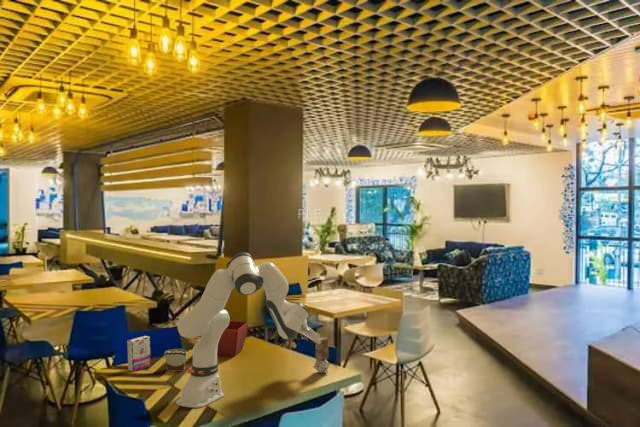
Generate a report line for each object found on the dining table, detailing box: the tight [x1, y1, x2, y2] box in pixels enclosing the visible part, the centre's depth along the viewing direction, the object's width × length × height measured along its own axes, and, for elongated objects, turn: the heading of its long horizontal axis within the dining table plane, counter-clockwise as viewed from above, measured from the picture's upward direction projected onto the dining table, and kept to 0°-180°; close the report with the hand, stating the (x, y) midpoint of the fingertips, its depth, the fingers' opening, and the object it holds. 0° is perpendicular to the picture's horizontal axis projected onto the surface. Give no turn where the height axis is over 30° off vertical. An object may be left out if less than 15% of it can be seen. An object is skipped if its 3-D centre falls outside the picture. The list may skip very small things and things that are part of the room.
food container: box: [163, 348, 188, 372], centre depth 271 cm, size 12×6×10 cm, turn 84°
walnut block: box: [314, 336, 329, 360], centre depth 262 cm, size 5×5×10 cm
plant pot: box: [217, 320, 249, 357], centre depth 298 cm, size 19×19×17 cm
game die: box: [312, 357, 332, 375], centre depth 262 cm, size 9×8×10 cm
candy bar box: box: [126, 335, 152, 373], centre depth 272 cm, size 11×5×16 cm, turn 143°
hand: (315, 340), depth 261 cm, fingers open, 8 cm apart
